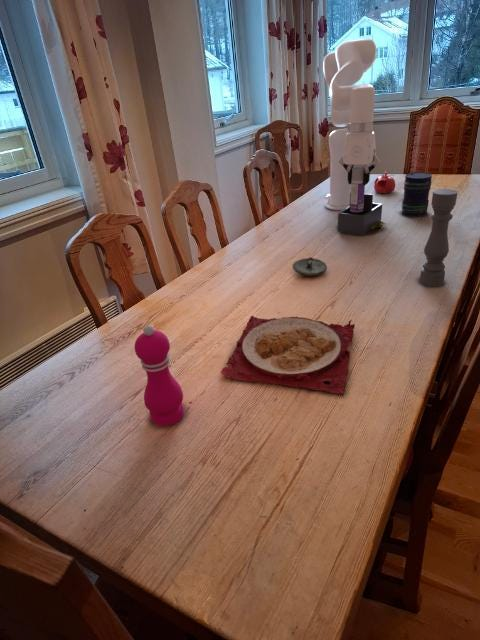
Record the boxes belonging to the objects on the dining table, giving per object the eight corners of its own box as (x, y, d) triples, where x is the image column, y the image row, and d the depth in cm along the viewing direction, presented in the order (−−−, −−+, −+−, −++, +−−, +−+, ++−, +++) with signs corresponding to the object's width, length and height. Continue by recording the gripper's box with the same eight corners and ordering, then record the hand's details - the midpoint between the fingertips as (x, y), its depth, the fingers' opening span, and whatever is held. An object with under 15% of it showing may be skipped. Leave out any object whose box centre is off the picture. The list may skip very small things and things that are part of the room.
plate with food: (251, 322, 110) (250, 310, 108) (354, 329, 102) (355, 316, 100) (219, 380, 91) (217, 367, 89) (343, 394, 83) (343, 380, 81)
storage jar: (432, 212, 172) (437, 174, 164) (416, 218, 167) (421, 179, 160) (411, 208, 179) (415, 171, 172) (395, 213, 175) (399, 176, 167)
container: (362, 208, 159) (364, 166, 151) (364, 211, 155) (366, 168, 147) (349, 208, 159) (351, 166, 152) (351, 212, 155) (352, 169, 148)
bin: (356, 218, 172) (358, 187, 166) (380, 221, 166) (383, 189, 160) (337, 231, 161) (338, 198, 155) (362, 235, 155) (365, 200, 149)
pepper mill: (150, 404, 85) (129, 318, 75) (186, 400, 85) (170, 313, 75) (146, 430, 79) (123, 340, 69) (186, 425, 79) (167, 334, 69)
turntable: (329, 228, 166) (329, 227, 166) (357, 218, 173) (357, 217, 173) (362, 238, 154) (362, 237, 154) (390, 226, 162) (390, 225, 162)
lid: (305, 266, 140) (301, 252, 138) (332, 264, 134) (329, 249, 132) (289, 280, 133) (285, 266, 131) (317, 279, 127) (313, 263, 125)
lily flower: (383, 220, 168) (384, 208, 166) (389, 230, 158) (391, 218, 156) (352, 221, 170) (353, 210, 168) (356, 232, 160) (357, 220, 157)
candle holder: (442, 277, 122) (457, 188, 109) (444, 287, 117) (459, 195, 104) (419, 276, 124) (431, 188, 111) (419, 285, 119) (432, 195, 106)
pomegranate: (386, 188, 210) (388, 168, 205) (399, 192, 201) (401, 171, 197) (368, 191, 207) (370, 171, 203) (381, 195, 199) (382, 175, 194)
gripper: (332, 130, 145) (331, 185, 154) (382, 129, 136) (378, 187, 145) (341, 126, 150) (339, 180, 159) (390, 126, 141) (385, 182, 151)
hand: (358, 183), depth 152 cm, fingers closed on container, 4 cm apart
